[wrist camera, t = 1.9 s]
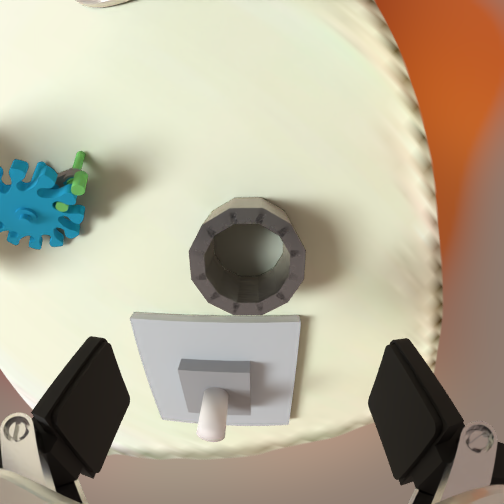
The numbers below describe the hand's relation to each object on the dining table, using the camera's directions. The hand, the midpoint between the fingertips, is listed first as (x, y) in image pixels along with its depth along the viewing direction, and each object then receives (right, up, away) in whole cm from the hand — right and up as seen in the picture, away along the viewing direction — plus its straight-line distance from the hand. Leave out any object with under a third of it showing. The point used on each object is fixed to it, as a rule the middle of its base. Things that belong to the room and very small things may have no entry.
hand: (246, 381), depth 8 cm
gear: (-16, +9, +11) cm, 21 cm away
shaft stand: (-3, -8, +16) cm, 18 cm away
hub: (0, +5, +12) cm, 13 cm away
